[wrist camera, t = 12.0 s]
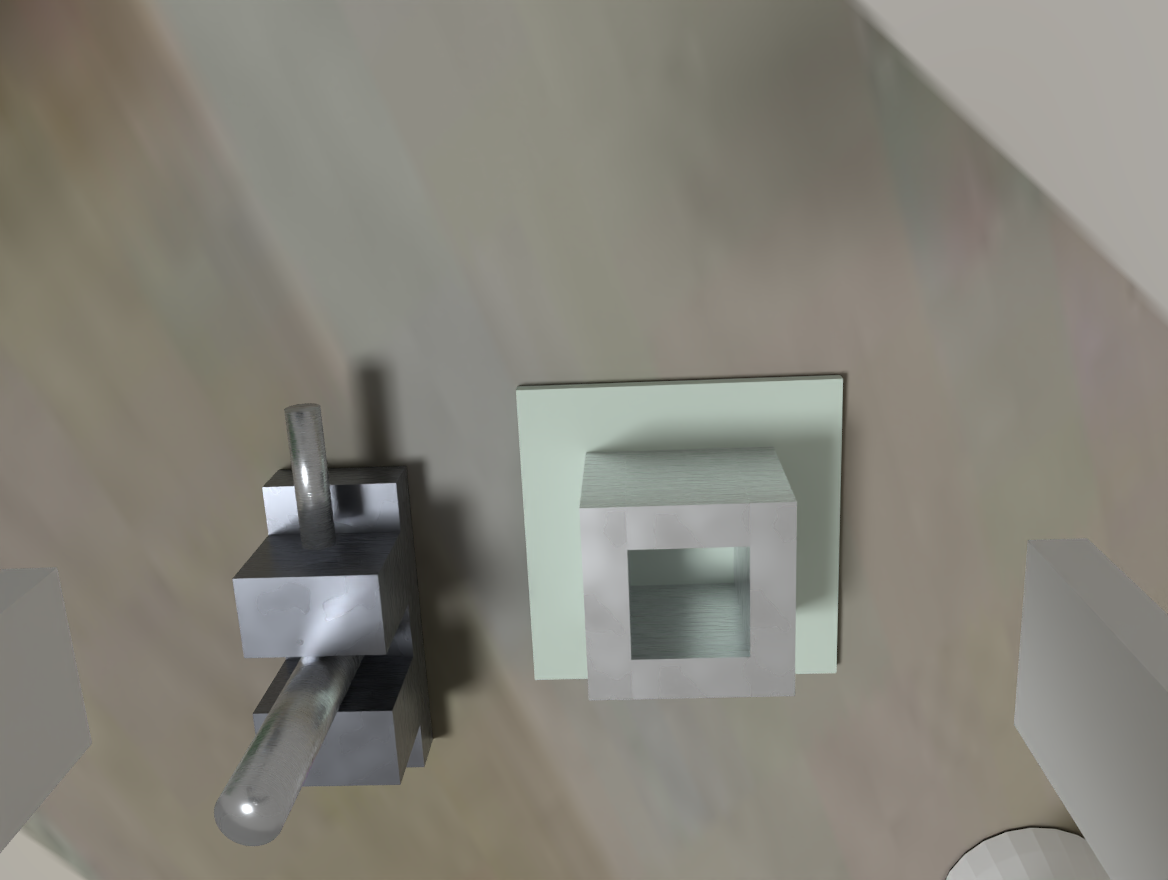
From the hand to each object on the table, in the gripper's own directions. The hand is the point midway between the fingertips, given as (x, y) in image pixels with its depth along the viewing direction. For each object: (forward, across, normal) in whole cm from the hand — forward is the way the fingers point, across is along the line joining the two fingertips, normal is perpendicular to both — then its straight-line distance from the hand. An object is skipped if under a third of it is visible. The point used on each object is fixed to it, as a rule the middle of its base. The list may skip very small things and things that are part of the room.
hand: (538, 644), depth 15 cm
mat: (+27, +3, -9) cm, 28 cm away
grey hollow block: (+26, +3, -9) cm, 28 cm away
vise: (+27, -10, -10) cm, 30 cm away
